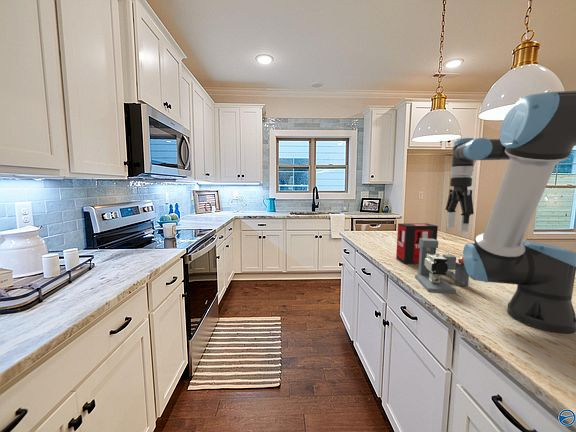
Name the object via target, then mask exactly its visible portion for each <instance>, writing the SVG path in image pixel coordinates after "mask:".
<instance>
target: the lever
mask: <svg viewBox="0 0 576 432" xmlns="http://www.w3.org/2000/svg"><path fill="white" fill-rule="evenodd" d="M446 275H448V276H450V277H451V278H453V279H454V281H453V282H454V284H456V285H457V286H462V287H463V286H464V287H469V281H470V280H469V279H470V277H469V275H468V274H467V272H466V269H465V265H464V260H463V256H461V257H458V262H456V267H455V270H454V272H453V271H452V270H451V269H448V270H447V273H446Z"/></svg>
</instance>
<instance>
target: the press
mask: <svg viewBox="0 0 576 432" xmlns="http://www.w3.org/2000/svg"><path fill="white" fill-rule="evenodd" d="M419 245H420V254H419V264H418V273H417V274H415V276H414V278H415V279H416V280H417V281H418V283H420V285H421V286H422V287H423V288H424V289H425V290H426V291H427V292H434V293H448V294H449V293H450V294H457V289H456V288H454V286H452V285H451V284H450V283H448V282H447V281H446V280H445V279H444V278H442V277H441V278H440V279H441V280H440V282H441V283H440V284H439V283H431V282H430V281H429V273H430V271H429V270H428V269H427V268H426V267H425V265H424V258H426V253H434V251H435V248H436V249H439V240H438V239H437V240H435V239H428V238H419ZM442 256H443V257H444V258H446V259H447V260H448V261H447V266H448V270H450V271H452V270H453V271H455V267H456V263H457V256H455V255H454V254H445V253H444V254H442Z"/></svg>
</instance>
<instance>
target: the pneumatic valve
mask: <svg viewBox="0 0 576 432" xmlns="http://www.w3.org/2000/svg"><path fill="white" fill-rule="evenodd" d="M447 261H448V260H447V259H446V258H444V257H443V255H441V254H440V253H437V252H436V253H426V258H424V265H425V267H426V268H427V269H428V270H429V271H430V273H429V281H430V282H431V283H439V284H440V283H441V282H440V280H441V279H440V278H442V276H447V270H449V269H448V266H447Z"/></svg>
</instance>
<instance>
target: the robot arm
mask: <svg viewBox="0 0 576 432" xmlns="http://www.w3.org/2000/svg"><path fill="white" fill-rule="evenodd" d="M499 133H500V135H499V138H495V139H494V138H488V139H487V138H485V137H479V138H478V137H477V138H473V137H464V138H459V139H455V140H454V142H453V145H452V157H451V167H450V177H451V178H450V181H449V186H450V187H453V189H449V190H448V191H449V192H448V197H447V201H446V206H445V211H447V219H446V220H447V221H446V227H447V228H454V227H455V222H456V220H455V219H456V212H457V211H456V208H457V206H458V204H460V209H461V214H460V216H461V217H460V223H459V224H460V225H459V232H464V233H465V232H466V233H467V232H469V226H470V216H471V215H474V214H475V213H474V212H475V211H474V202H473V190H472V189H468V187H472V186H473V172H474V163H475V162H474V161H499V160H500V161H501V160H503V161H505V160H506V161H508V160H509V161H508V164H507V167H506V169H505V173H504V175H503V177H502V181H501V184H500V187H499V189H498V193H497V195H496V197H495V201H494V203H493V207H492V208H491V209H492V210H491V212H490V216H489V218H488V222H487V224H486V227H485V230H484V232H482V233H479V234H478V235H476V238H475V240H474V242H473V243H472V242H470V243H469V242H467V243H466V244H465V245H464V247H463V251H462V257H463V260H464V265H465V269H466V272H467V274H468V275H469V279H472V280H474V281H477V282H484V283H494V284H507V285H517V286H516V290H515V292H514V293H513V295H512V297H511V299H510V301H509V302H508V304H507V307H506V311H507V314H508V315H509V316H510V317H511V318H512V319H514V320H516V321H519V322H521V323H523V324H525V325H527V326H531V327H534V328H536V329H539V330H544V331H548V332H551V333H552V332H553V333H560V334H572V333H576V313H575V308H574V306H573V302H572V299H573V291H574V285H575V280H576V279H575V277H576V251H573V250H571V249H568V248H566V247H562V246H557V245H553V244H548V243H542V242H537V241H530V240H524V241H523V239H524V237H525V235H526V233H527V230H528V228H529V226H530V223H531V221H532V219H533V217H534V214H535V213H536V210H537V208H538V206H539V203H540V202H541V199H542V197H543V194H544V192H545V190H546V187H547V185H548V183H549V181H550V180H551V176H552V175H553V172H554V170H555V167H556V165H557V164H558V163H560V162H563V161H565V160H566V159H568V158H569V157H570V156H571V153H572V151H573V149H574V147H576V90H563V91H562V90H561V91H560V90H559V91H547V92H541V93H534V94H529V95H525V96H524V97H523V96H522V98H519V100H517V102H516V103H514V104H513V105H512V106H511V107H510V109H509V110H508V112H507V113H506V114H505V117H504V119H503V121H502V123H501V126H500V130H499Z"/></svg>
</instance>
